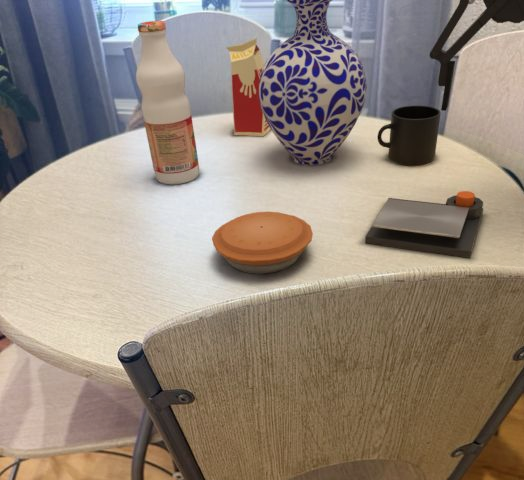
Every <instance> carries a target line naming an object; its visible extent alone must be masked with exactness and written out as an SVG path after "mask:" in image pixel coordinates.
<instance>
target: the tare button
mask: <svg viewBox="0 0 524 480" xmlns="http://www.w3.org/2000/svg"><path fill="white" fill-rule="evenodd" d="M456 195H457V196H456ZM456 195H455V196H456V202H455V204H456V205H458V206H462V207H470V206H473V204H474V198H475V197H476V193H474V192H473V191H468V190H461V191H459V192H457V193H456Z"/></svg>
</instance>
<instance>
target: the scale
mask: <svg viewBox="0 0 524 480" xmlns="http://www.w3.org/2000/svg"><path fill="white" fill-rule="evenodd" d="M456 196H457V194H456V195H452V196H450V197H447V198H446V202H445V203H439V202H429V201H421V200H411V199H402V198H395V197H394V198H393V197H388V198H387V200H388V199H395V200H404V201H413V202H422V203H431V204H440V205H449V206H458V205H456V204H455V202H456ZM387 200H386V201H385V203H386V202H387ZM383 207H384V205H383ZM383 207H382V208H383ZM458 207H462V206H458ZM467 208H469V210H468V213H467V216H466V219H465V222H464V225H463V228H462V231H461V234H460V237H459V238H454V237H446V236H439V235H431V234H423V233H416V232H408V231H401V230H393V229H386V228H378V227H372V226H370V228H369V230H368V232H367V233H366V234H365V238H364V243H365V244H368V245H369V244H370V245H377V246H384V247H389V248H390V247H391V248H398V249H404V250H411V251H419V252H425V253H433V254H438V255H439V254H440V255H445V256H446V255H447V256H453V257H461V258H468V259H470V258H471V255H472V251H473V250H474V249H473V248H474V245H475V241H476V238H477V234H478V231H479V227H480V224H481V222H482V221H481V220H482V217H483V213H484V202H483V200H482V199H481V198H479V197H477V196H475V198H474V204H473V206H470V207H467ZM380 212H381V210H380V211H379V213H380ZM377 217H378V215H377V216H376V218H377ZM374 222H375V220H374V221H373V223H374Z"/></svg>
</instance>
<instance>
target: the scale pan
mask: <svg viewBox="0 0 524 480" xmlns="http://www.w3.org/2000/svg"><path fill="white" fill-rule="evenodd" d="M395 199H396V198H395ZM395 199H388V198H387V199H386V201H387V202H386V201H385V203H384V204H383V206H384V207H382V208H381V209H380V211H381V212H380V211H379V213H378V215H377V216H378V217H377V216H376V218H375V220H374V221H375V222H374V221H373V223H372V225H371V227H378V228H386V229H393V230H401V231H408V232H416V233H423V234H431V235H439V236H446V237H454V238H459V237H460V234H461V231H462V228H463V225H464V222H465V219H466V216H467V213H468V210H469V208H467V207H458V206H449V205H440V204H441V203H440V204H431V203H432V202H431V203H422V202H423V201H422V202H413V201H414V200H413V201H404V200H405V199H404V200H395Z"/></svg>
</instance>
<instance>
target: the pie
mask: <svg viewBox="0 0 524 480" xmlns="http://www.w3.org/2000/svg"><path fill="white" fill-rule="evenodd" d="M313 235H314V232H313V230H312V228H311V225H310V224H309V223H307V222H306V221H305V220H304V219H301V218H300V217H298V216H295V215H292V214H288V213H282V212H278V211H256V212H251V213H246V214H243V215H240V216H237V217H235V218H233V219H231V220H229V221H227V222H226V223H224V224H222V225H221V226H220V227H219V228H216V230H215V231H214V232H213V236H212V238H211V240H212V245H213V247H214V248H215V250H216V252H217V253H218V254H219V255H221V256H222V257H224V259H225V260H226V261H227V262H228V263H229V264H230V265H231V267H233V268H234V269H236V270H238V271H240V272H243V273H248V274H255V275H261V274H264V275H265V274H272V273H277V272H280V271H282V270H285V269H288V268H289V267H291V266H292V265H293V264H295V263H296V261H297V260H298V259H299V258H300V256H301V254H302V253H303V252H304V251H305V249H306V247H307V246H309V244H311V242H312V240H313Z"/></svg>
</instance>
